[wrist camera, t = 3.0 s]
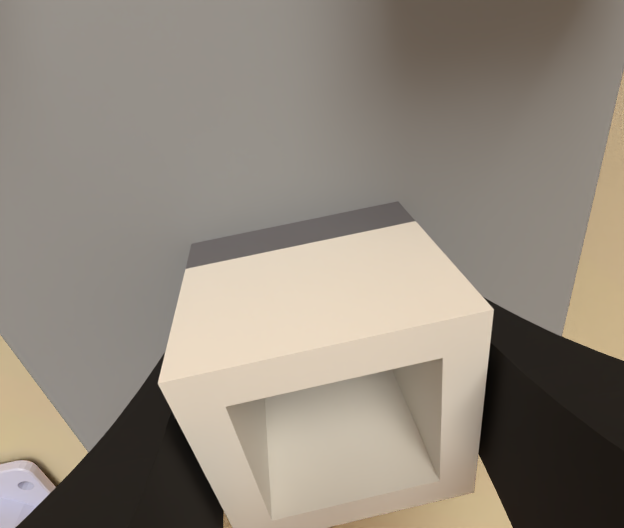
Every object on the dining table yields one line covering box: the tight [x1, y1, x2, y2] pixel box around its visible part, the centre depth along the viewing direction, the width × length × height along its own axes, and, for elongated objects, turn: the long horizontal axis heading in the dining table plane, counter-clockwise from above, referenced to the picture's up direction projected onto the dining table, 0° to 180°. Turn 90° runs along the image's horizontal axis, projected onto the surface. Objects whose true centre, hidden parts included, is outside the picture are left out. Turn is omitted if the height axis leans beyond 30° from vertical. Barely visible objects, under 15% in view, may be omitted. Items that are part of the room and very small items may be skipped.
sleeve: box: [158, 201, 494, 528], centre depth 9 cm, size 5×5×4 cm
